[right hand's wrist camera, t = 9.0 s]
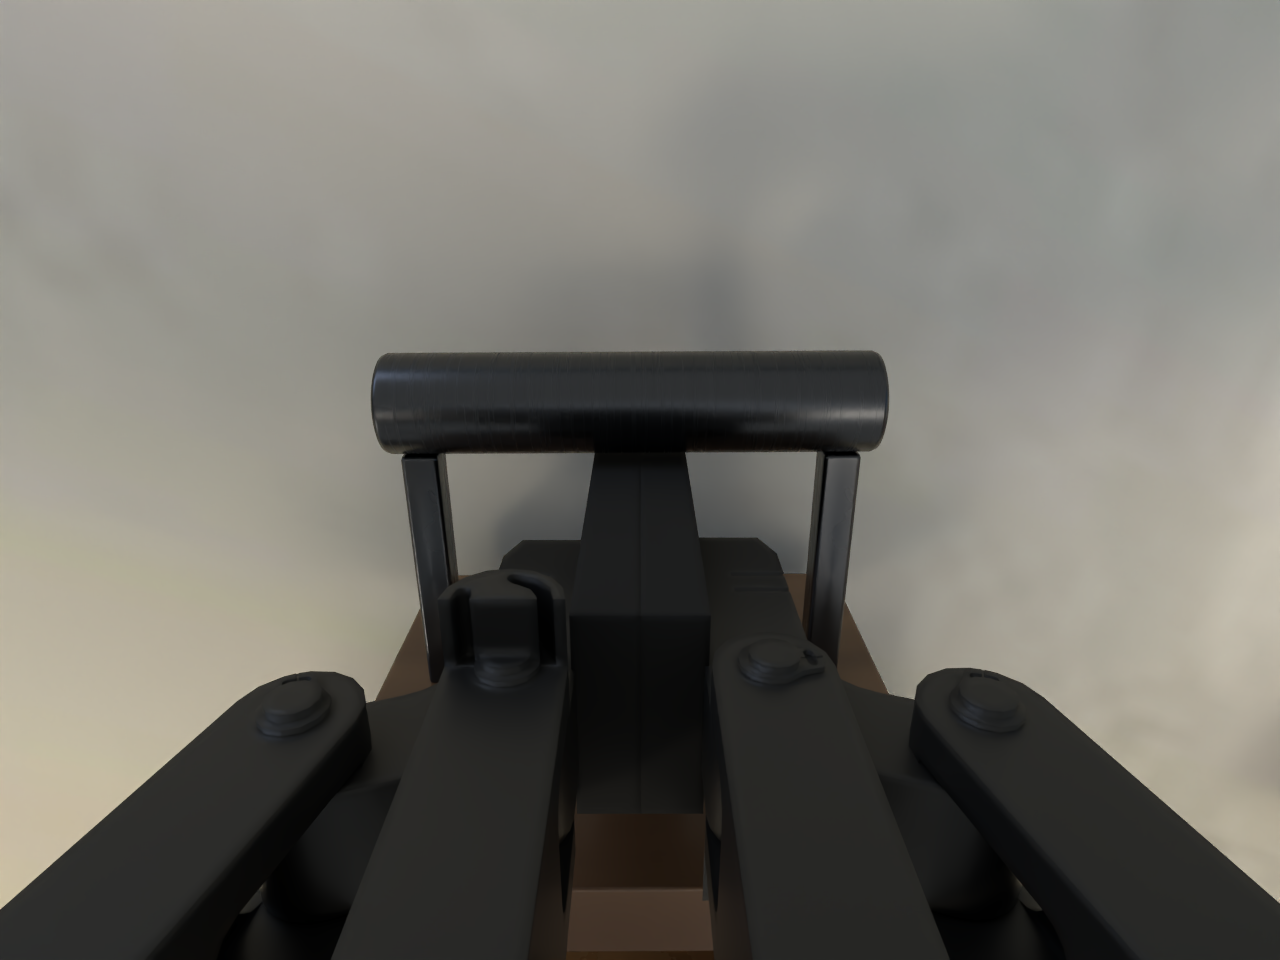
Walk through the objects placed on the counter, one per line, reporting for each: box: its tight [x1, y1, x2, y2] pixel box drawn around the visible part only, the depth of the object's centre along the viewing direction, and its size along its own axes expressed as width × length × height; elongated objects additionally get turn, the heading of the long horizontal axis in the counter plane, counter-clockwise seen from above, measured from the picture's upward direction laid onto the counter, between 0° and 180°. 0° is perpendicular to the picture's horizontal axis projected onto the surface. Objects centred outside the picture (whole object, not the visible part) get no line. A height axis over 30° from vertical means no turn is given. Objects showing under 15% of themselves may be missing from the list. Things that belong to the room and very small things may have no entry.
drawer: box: [371, 351, 889, 960], centre depth 16 cm, size 22×9×8 cm, turn 0°
